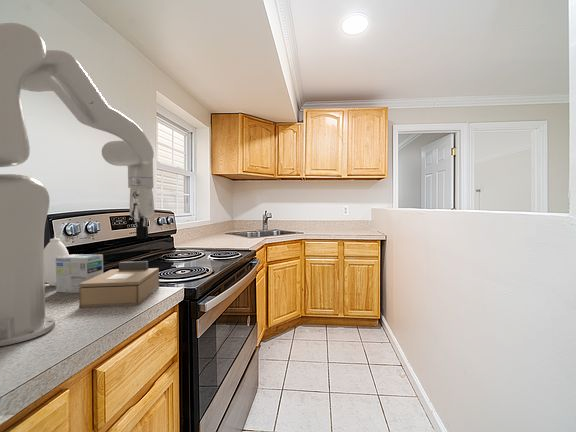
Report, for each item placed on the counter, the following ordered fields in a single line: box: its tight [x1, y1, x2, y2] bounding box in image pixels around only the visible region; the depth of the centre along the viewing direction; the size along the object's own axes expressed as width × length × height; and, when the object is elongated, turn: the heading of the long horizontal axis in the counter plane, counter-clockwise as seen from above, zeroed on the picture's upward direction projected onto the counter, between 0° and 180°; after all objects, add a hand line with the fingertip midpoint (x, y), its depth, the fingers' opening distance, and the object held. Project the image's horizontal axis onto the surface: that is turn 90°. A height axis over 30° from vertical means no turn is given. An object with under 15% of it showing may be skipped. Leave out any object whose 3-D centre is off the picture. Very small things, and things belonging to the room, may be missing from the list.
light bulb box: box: [55, 253, 104, 294], centre depth 90 cm, size 11×7×11 cm, turn 84°
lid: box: [79, 260, 160, 287], centre depth 83 cm, size 18×14×3 cm
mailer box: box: [78, 271, 160, 309], centre depth 83 cm, size 18×14×5 cm
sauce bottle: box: [44, 230, 70, 287], centre depth 95 cm, size 8×8×18 cm
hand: (142, 238), depth 98 cm, fingers closed
